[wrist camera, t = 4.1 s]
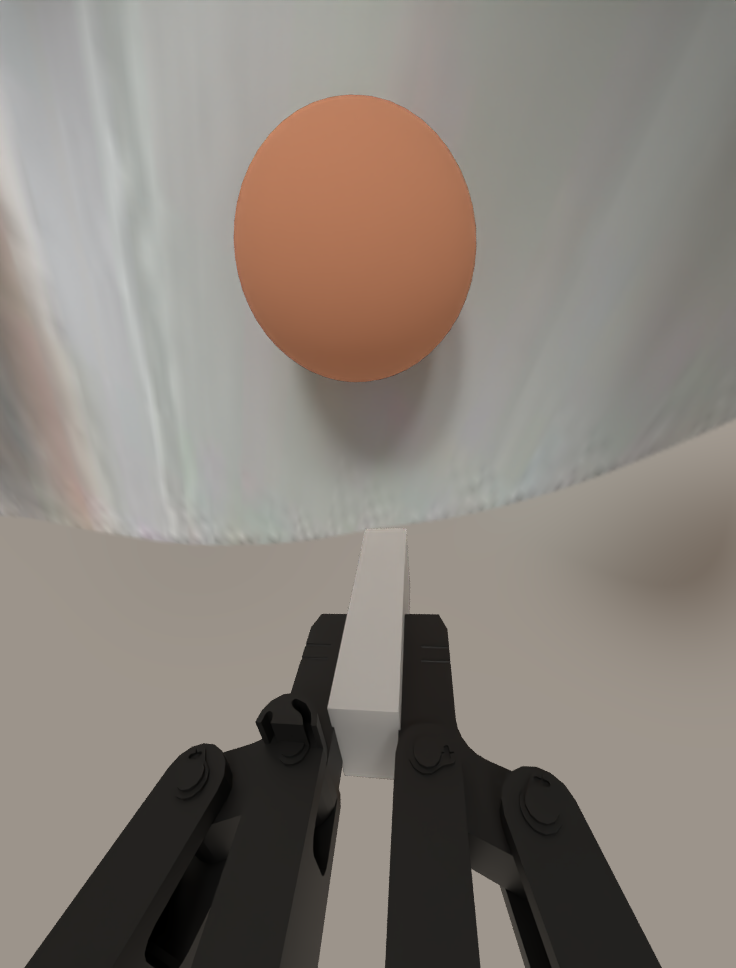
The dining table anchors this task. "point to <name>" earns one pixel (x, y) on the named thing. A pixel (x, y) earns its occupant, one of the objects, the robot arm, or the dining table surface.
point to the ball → (355, 238)
